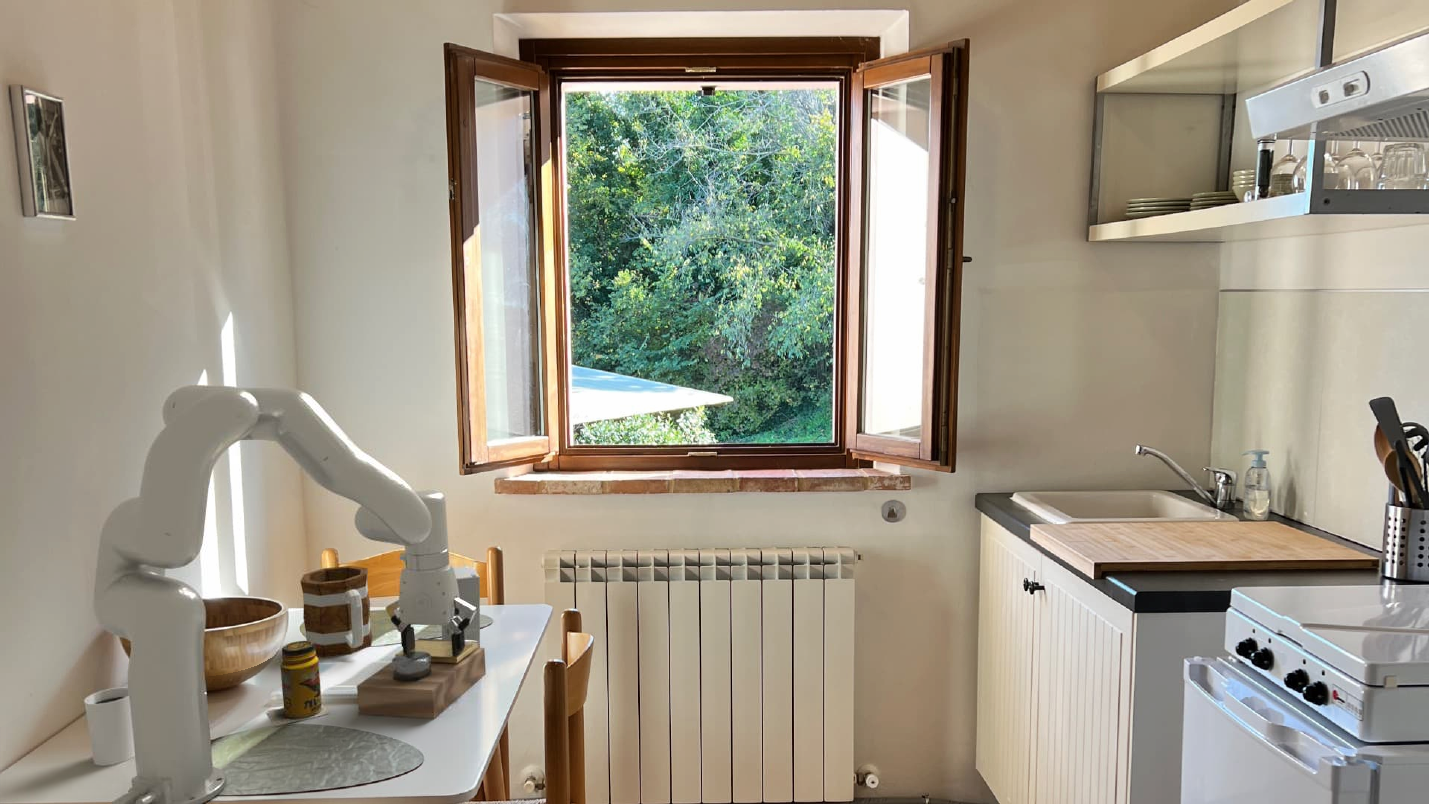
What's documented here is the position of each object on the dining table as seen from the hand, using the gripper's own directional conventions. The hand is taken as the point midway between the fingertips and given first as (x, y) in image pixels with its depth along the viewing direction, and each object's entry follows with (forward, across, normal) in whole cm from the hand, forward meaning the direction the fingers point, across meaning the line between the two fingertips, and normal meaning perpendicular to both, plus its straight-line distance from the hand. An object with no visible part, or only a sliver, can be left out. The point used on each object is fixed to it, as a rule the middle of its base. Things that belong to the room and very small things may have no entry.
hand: (433, 652), depth 178 cm
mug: (+7, -28, +15) cm, 33 cm away
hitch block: (+6, 0, -4) cm, 7 cm away
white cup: (+6, -37, -34) cm, 50 cm away
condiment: (+6, -18, -15) cm, 24 cm away
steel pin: (+6, 0, -8) cm, 10 cm away
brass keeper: (+1, 0, +2) cm, 2 cm away
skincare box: (+7, -4, +20) cm, 21 cm away
